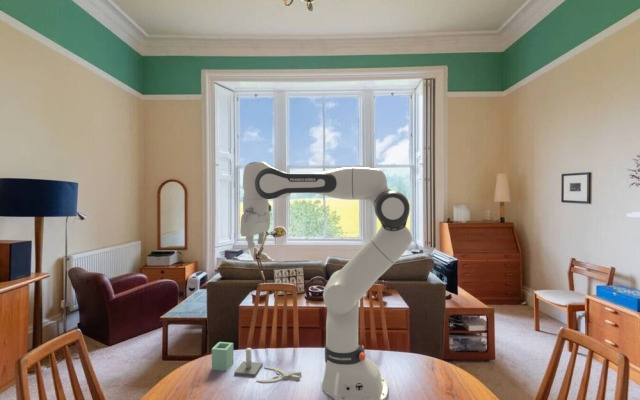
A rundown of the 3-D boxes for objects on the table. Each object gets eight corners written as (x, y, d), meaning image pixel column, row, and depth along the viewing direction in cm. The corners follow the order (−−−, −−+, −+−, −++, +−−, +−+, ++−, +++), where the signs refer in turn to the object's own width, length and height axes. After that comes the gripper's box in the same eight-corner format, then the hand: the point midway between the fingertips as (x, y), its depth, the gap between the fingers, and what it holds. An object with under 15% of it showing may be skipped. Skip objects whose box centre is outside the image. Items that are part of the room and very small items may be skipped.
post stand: (262, 365, 128) (262, 345, 127) (255, 376, 120) (254, 355, 120) (243, 363, 129) (242, 343, 129) (234, 374, 121) (234, 353, 121)
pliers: (265, 364, 126) (303, 367, 124) (265, 368, 126) (303, 371, 124) (256, 378, 116) (297, 382, 114) (256, 383, 116) (297, 386, 114)
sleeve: (233, 363, 130) (233, 342, 129) (226, 371, 124) (226, 350, 124) (219, 361, 131) (219, 341, 130) (211, 369, 125) (211, 348, 125)
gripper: (253, 208, 107) (254, 251, 107) (272, 206, 127) (273, 242, 127) (235, 208, 108) (235, 250, 108) (257, 206, 128) (257, 241, 128)
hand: (256, 246), depth 118 cm, fingers open, 8 cm apart
